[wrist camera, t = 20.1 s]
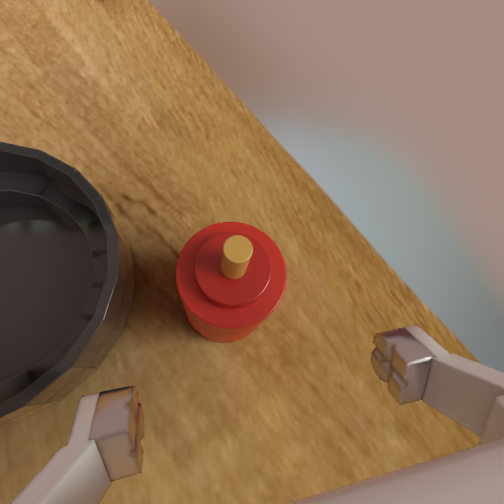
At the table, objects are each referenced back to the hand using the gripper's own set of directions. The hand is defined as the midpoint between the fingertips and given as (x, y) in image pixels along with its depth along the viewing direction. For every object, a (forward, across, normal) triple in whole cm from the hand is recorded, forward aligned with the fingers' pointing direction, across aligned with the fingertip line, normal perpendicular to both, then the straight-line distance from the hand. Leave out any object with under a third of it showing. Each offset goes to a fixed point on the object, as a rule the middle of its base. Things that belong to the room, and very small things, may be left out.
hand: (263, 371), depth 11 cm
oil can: (+11, 0, +4) cm, 12 cm away
